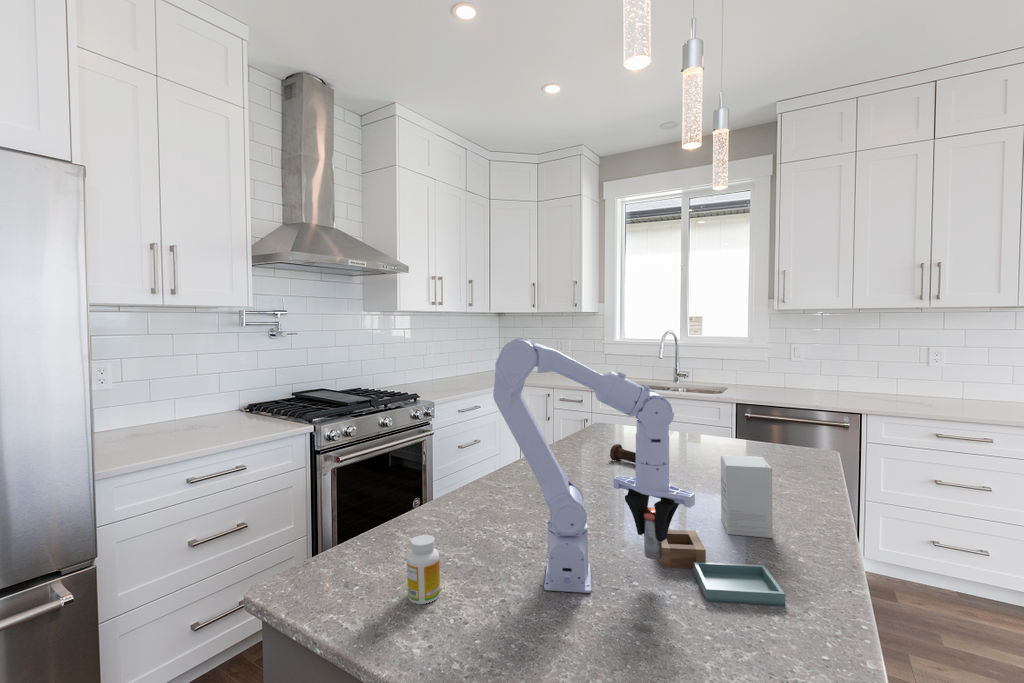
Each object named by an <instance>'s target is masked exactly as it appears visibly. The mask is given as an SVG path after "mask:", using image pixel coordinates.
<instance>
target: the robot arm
mask: <svg viewBox="0 0 1024 683" xmlns="http://www.w3.org/2000/svg"><path fill="white" fill-rule="evenodd" d="M494 366H495V371H494V372H495V373H494V383H493V397H492V398H493V401H494V403H495V405H496V406H497V408H498V410H499V412H500V413H501V416H502V418H503V419H504V421H505V423H506V425H507V426H508V429H509V431H510V432H511V434H512V436H513V438H514V440H515V442H516V443H517V446H518V447H519V449H520V450H521V453H522V454H523V457H524V458H525V460H526V462H527V463H528V465H529V468H530V469H531V471H532V472H533V474H534V476H535V479H536V480H537V482H538V484H539V486H540V490H541V492H542V494H543V498H544V501H545V503H546V505H547V507H548V510H549V520H547V561H546V562H547V563H546V569H545V577H544V585H543V589H544V590H545V591H553V592H569V593H584V594H585V593H587V594H590V593H591V592H592V576H591V572H592V571H591V563H590V562H589V526H588V523H587V522H588V521H587V520H588V515H587V514H588V513H587V511H586V508H585V505H584V495H583V492H582V491H581V489H580V487H578V485H576V484H574V483H573V482H572V481H571V480H570V479H569V477H568V476H567V474H566V472H565V471H564V470H563V469H562V467H561V465H560V464H559V462H558V460H557V458H556V456H555V454H554V452H553V450H552V448H551V447H550V444H549V443H548V442H547V439H546V438H545V436H544V434H543V432H542V430H541V429H540V427H539V425H538V423H537V421H536V419H535V417H534V416H533V413H532V411H531V410H530V408H529V406H528V404H527V402H526V401H525V399H524V398H525V397H523V395H522V393H523V389H524V386H525V383H526V380H527V378H528V377H529V376H530V375H531V373H532V372H533V370H534V368H535V367H537V371H536V372H537V374H542V373H551V372H554V373H556V374H559V375H561V376H563V377H565V378H567V379H569V380H571V381H574V382H576V383H578V384H580V385H582V386H584V387H587V388H589V389H590V390H593V391H594V395H595V397H596V400H597V401H599V402H601V403H602V404H605V405H607V406H609V407H611V408H612V409H614V410H616V411H619V412H620V413H623V414H624V415H627V416H628V417H635V418H636V433H635V453H636V463H635V477H632V476H631V477H629V476H623V475H616V476H615V477H613V489H615V490H616V489H617V490H621V489H622V490H626V491H627V494H625V496H624V501H625V503H626V504H627V506H628V507H629V510H630V512H631V514H632V517H633V520H634V524H635V527H636V532H637V535H639V536H642V535H644V519H643V517H642V509H644V508H648V507H649V500H650V497H653V498H657V499H660V500H658V501H657V502H655V503H654V504H653V505H654V507H653V508H655V511H656V516H657V538H658V541H660V542H662V541H664V540H665V539H666V538H667V533H668V530H670V526H671V522H672V519H673V517H674V516H675V513H676V511H677V510H678V507H679V506H680V505H683V506H684V508H689V509H691V508H692V507H694V506H695V504H696V494H695V493H694V492H690V491H688V490H687V491H686V490H684V489H681V488H679V487H676V486H675V485H672V484H670V432H669V431H670V425H671V423H672V422H673V420H674V417H675V412H674V411H673V407H672V405H671V403H670V402H669V400H668V399H667V398H665V397H664V396H662V395H661V394H659V393H657V392H656V391H655V390H653V389H651V387H650V386H648V385H646V384H644V385H641V384H639V383H636V382H635V381H633V380H630V378H626V377H627V374H626V373H623V372H622V371H620V370H618V371H617V373H616V372H614V371H612V370H611V371H608V372H604V373H599V372H598V371H596V370H594V369H592V368H590V367H588V366H586V365H585V364H583V363H581V362H579V361H578V360H575V359H574V358H572V357H570V356H568V355H566V354H564V353H562V352H561V351H559V350H557V349H554V348H552V347H549V346H545V345H544V344H540V343H538V342H537V343H536V342H535V343H534V342H532V341H531V340H530V339H528V338H523V337H519V338H514V339H512V340H511V341H509V342H507V343H506V344H505V345H504V346H503V347H502V349H501V351H500V353H499V354H498V357H497V359H496V362H495V365H494Z"/></svg>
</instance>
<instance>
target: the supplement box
mask: <svg viewBox="0 0 1024 683" xmlns="http://www.w3.org/2000/svg"><path fill="white" fill-rule="evenodd" d="M773 514H774V513H773V468H772V466H771V465H769V463H768V462H767V461H766V459H765V458H764V457H763V456H755V455H754V456H751V455H750V456H748V455H727V454H721V455H720V518H721V521H722V524H723V527H724V529H725V531H726V534H727V535H731V536H732V535H733V536H734V535H735V536H744V537H745V536H746V537H756V538H767V539H773V538H774V533H773V531H774V530H773V529H774V528H773V527H774V526H773V524H774V523H773V520H774V519H773V518H774V517H773Z"/></svg>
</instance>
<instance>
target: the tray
mask: <svg viewBox="0 0 1024 683" xmlns="http://www.w3.org/2000/svg"><path fill="white" fill-rule="evenodd" d="M692 569H693V574H694V577H695V579H696V581H697V584H698V586H699V588H700V590H701V592H702V594H703V597H704V599H705V601H706V602H710V603H711V602H713V603H727V604H728V603H729V604H746V605H747V604H749V605H762V606H778V607H779V606H780V607H786V593H785V592H784V590H783V588H781V586H780V584H778V582H777V581H776V580H775V578H774V577H773V576H772V574H771V573H770V571H769V570H768V569H767V567H766V565H764V564H747V563H746V564H744V563H727V562H726V563H725V562H707V561H706V562H693V568H692Z"/></svg>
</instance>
